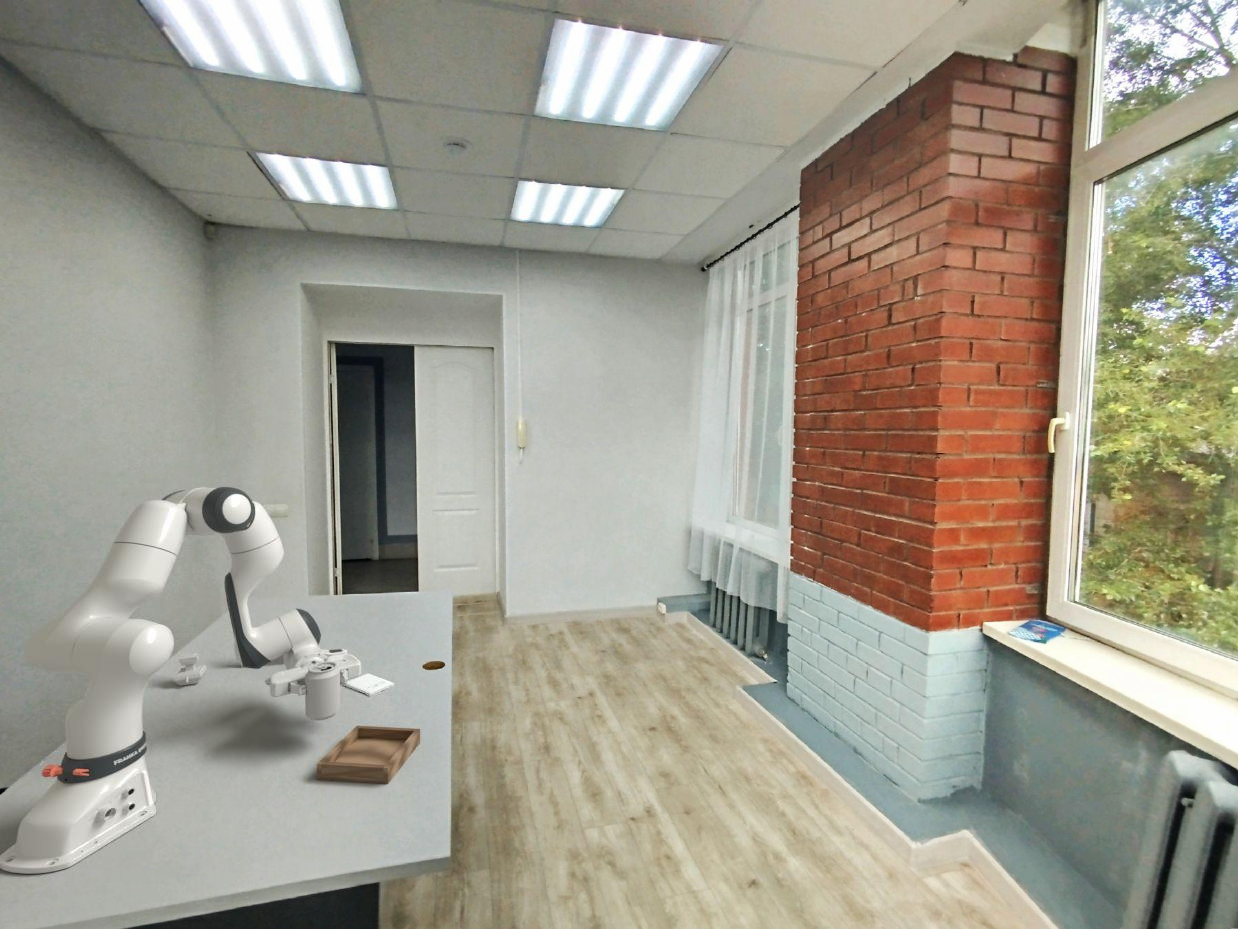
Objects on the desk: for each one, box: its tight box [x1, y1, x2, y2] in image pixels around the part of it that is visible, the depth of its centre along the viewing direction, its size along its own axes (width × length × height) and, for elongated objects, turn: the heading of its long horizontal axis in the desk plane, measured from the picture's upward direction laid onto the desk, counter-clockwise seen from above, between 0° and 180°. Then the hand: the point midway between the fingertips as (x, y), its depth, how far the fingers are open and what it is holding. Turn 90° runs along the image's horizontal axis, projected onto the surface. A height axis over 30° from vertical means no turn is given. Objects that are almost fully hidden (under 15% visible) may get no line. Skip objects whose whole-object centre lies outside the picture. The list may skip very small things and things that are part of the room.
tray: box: [316, 725, 421, 785], centre depth 129 cm, size 16×16×4 cm
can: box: [304, 662, 341, 721], centre depth 136 cm, size 8×8×12 cm
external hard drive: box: [343, 673, 396, 696], centre depth 167 cm, size 2×8×12 cm
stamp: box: [173, 652, 208, 687], centre depth 168 cm, size 9×7×8 cm
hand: (323, 686), depth 135 cm, fingers closed on can, 7 cm apart
